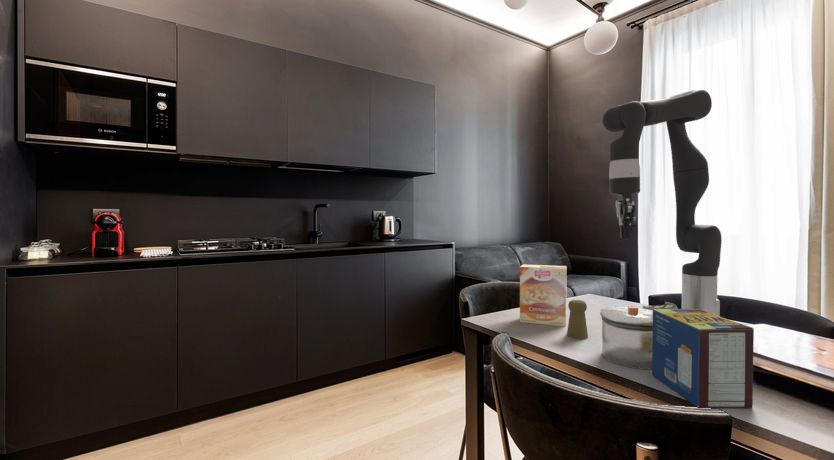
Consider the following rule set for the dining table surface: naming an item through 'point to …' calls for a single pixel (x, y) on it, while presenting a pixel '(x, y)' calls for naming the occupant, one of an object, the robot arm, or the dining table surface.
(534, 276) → the coffeecake box
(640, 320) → the cooker lid
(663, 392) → the dining table surface
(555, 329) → the dining table surface
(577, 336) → the cork
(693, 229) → the robot arm
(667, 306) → the food container
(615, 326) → the cooker pot
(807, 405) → the dining table surface
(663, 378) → the protein box
